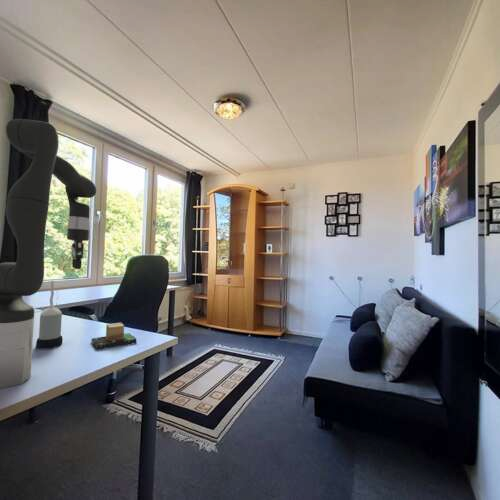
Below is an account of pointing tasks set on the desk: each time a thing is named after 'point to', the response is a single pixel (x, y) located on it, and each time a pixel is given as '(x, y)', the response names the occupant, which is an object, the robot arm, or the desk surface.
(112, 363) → the desk surface
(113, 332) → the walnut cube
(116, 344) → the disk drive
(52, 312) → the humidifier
